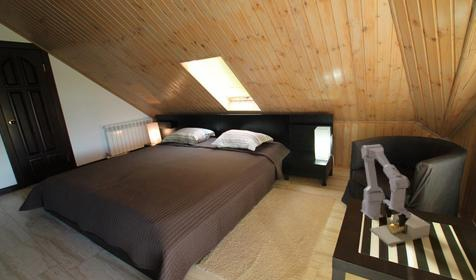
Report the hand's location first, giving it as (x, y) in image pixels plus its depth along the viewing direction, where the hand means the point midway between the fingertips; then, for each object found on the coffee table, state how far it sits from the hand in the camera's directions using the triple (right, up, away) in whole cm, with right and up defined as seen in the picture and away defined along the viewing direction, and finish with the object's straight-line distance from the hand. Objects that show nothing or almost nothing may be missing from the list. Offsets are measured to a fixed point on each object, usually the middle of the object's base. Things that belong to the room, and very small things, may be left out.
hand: (394, 221), depth 114 cm
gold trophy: (+5, -5, +2) cm, 8 cm away
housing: (+4, -7, +3) cm, 8 cm away
